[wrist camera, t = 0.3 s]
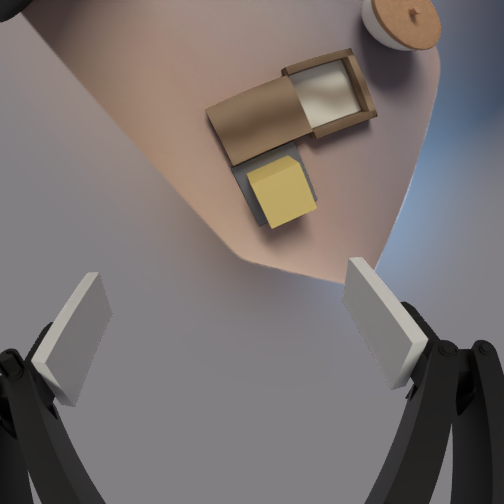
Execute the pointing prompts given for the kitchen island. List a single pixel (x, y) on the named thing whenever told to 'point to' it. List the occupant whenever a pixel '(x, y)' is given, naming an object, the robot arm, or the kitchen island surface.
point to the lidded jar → (402, 23)
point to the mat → (260, 161)
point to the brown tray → (294, 106)
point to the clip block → (282, 190)
